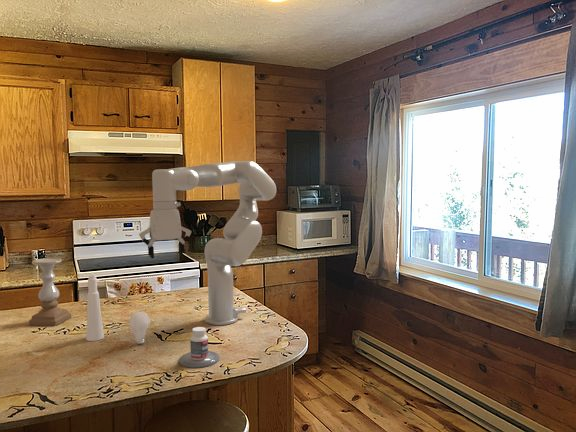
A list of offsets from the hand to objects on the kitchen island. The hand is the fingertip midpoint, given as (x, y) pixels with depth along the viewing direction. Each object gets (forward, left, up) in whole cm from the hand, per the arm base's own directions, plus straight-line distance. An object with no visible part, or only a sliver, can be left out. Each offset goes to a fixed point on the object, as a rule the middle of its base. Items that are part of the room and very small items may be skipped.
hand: (166, 256), depth 164 cm
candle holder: (+37, -39, -28) cm, 61 cm away
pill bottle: (-4, +24, -28) cm, 37 cm away
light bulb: (+10, +2, -28) cm, 30 cm away
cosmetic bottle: (+23, -11, -28) cm, 38 cm away
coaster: (-4, +24, -28) cm, 37 cm away
